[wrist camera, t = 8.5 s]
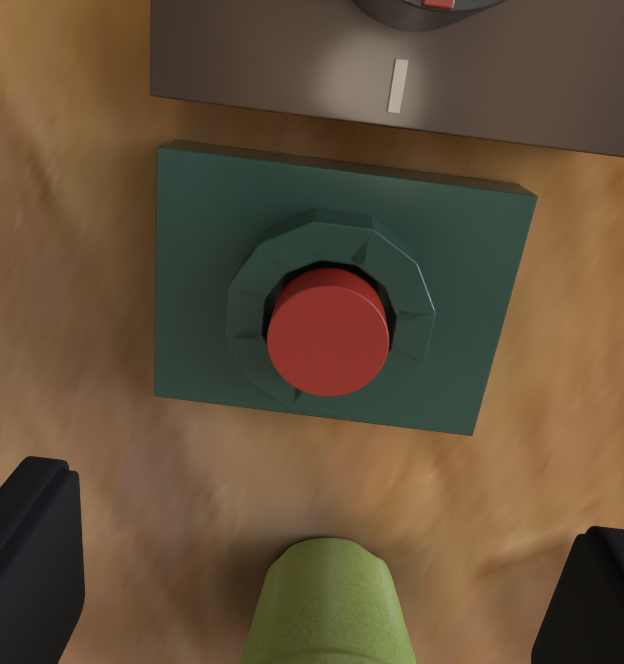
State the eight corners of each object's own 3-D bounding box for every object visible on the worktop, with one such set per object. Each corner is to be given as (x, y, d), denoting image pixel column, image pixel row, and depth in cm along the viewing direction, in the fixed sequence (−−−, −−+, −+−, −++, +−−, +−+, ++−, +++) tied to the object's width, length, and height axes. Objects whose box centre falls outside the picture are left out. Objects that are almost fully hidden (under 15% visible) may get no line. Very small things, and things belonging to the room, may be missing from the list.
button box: (169, 369, 24) (138, 422, 20) (174, 139, 20) (138, 154, 17) (461, 406, 24) (483, 466, 20) (519, 183, 20) (558, 208, 17)
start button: (267, 363, 20) (261, 389, 18) (278, 260, 18) (272, 278, 17) (375, 377, 20) (378, 404, 18) (394, 274, 18) (399, 294, 17)
